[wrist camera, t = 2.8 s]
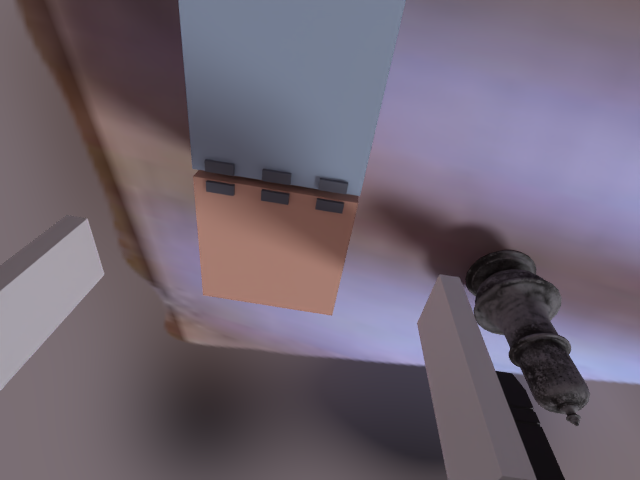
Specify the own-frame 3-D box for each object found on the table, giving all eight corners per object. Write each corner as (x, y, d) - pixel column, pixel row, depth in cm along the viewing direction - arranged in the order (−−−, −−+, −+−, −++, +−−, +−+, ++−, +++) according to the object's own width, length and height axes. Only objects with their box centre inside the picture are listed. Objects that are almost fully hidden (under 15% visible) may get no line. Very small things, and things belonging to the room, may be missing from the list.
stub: (260, 100, 21) (191, 178, 12) (356, 116, 21) (358, 205, 12) (257, 187, 25) (202, 297, 16) (340, 200, 25) (331, 318, 16)
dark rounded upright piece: (490, 237, 26) (571, 382, 16) (556, 261, 27) (672, 413, 17) (448, 290, 29) (494, 436, 20) (508, 309, 30) (582, 460, 20)
